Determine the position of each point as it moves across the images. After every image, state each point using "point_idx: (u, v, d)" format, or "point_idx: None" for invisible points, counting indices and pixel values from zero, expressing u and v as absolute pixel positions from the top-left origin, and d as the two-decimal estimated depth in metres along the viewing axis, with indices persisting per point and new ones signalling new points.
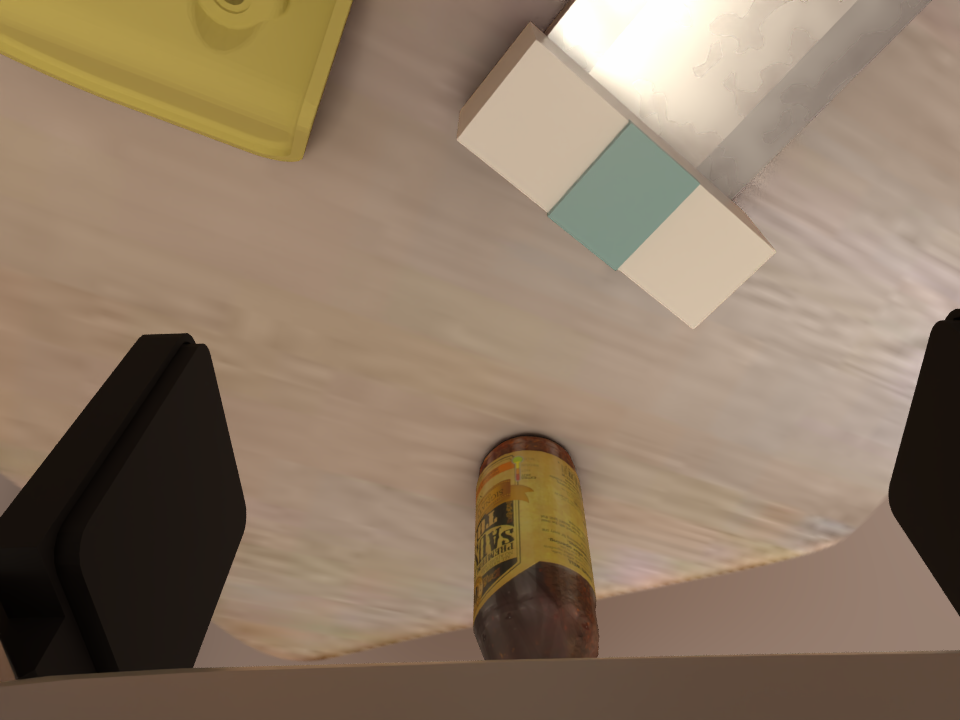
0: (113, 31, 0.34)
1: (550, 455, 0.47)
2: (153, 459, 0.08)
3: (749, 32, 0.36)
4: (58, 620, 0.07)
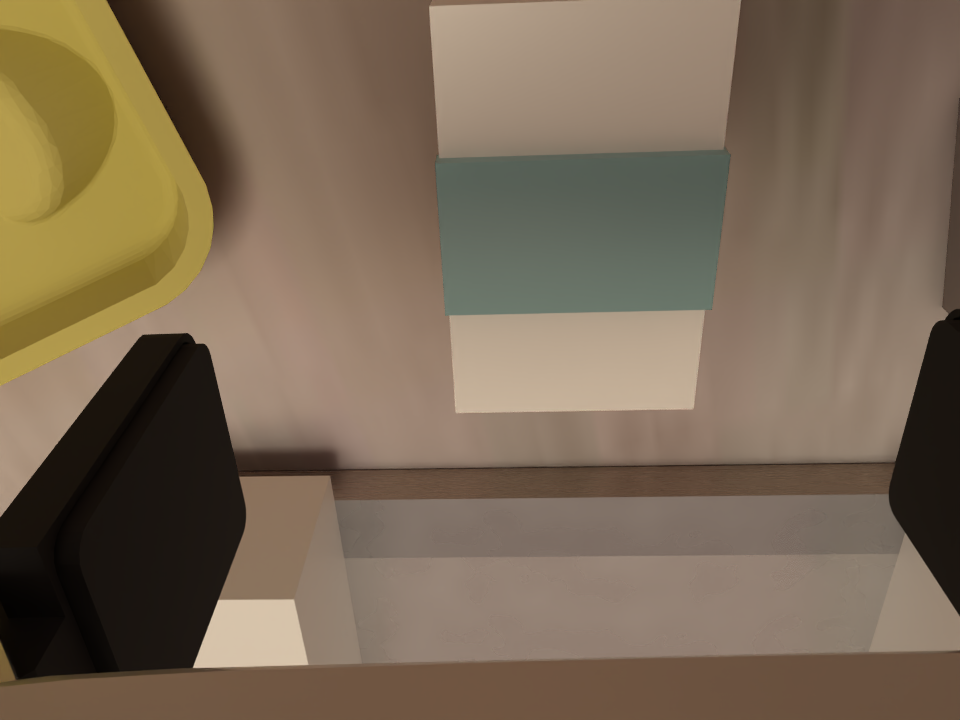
0: None
1: None
2: (153, 459, 0.08)
3: (519, 646, 0.29)
4: (58, 620, 0.07)
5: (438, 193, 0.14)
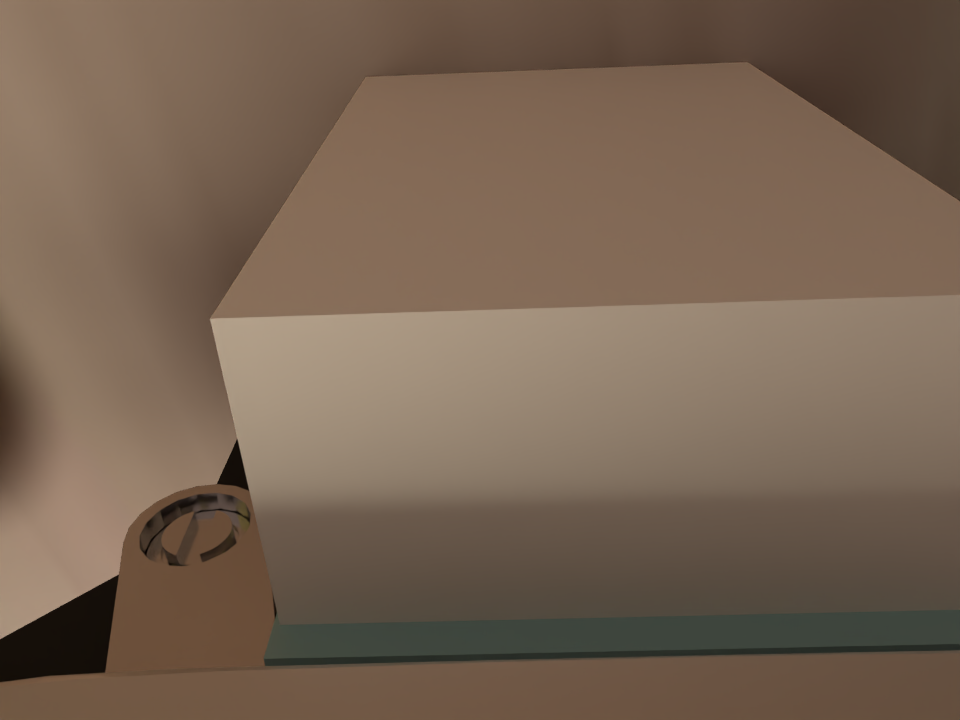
0: None
1: None
2: None
3: None
4: None
5: None
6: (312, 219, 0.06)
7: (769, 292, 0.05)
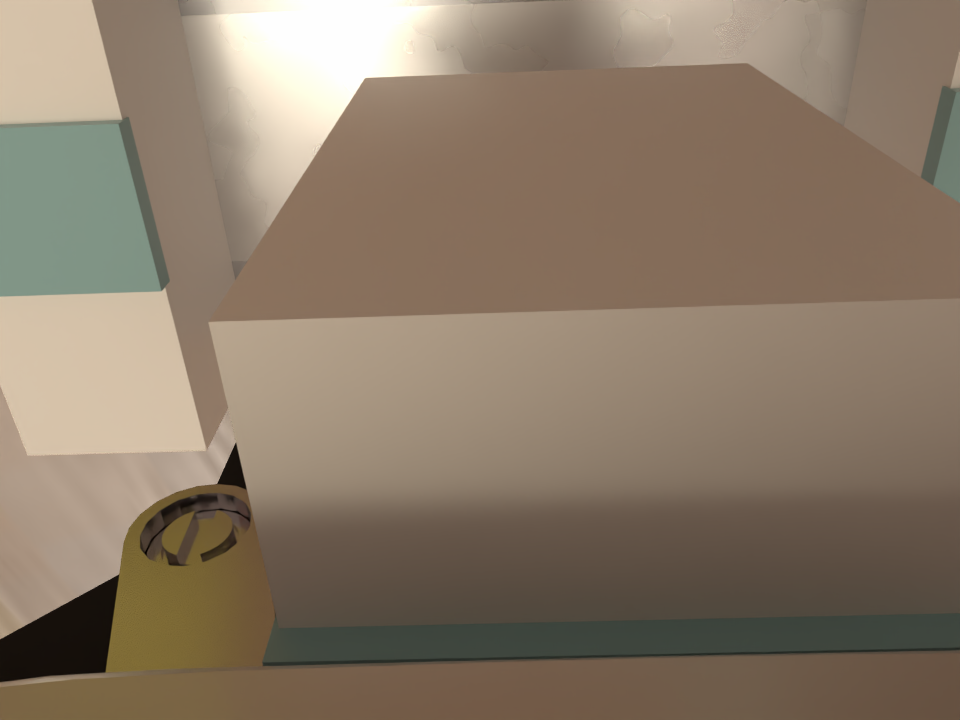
0: None
1: None
2: None
3: None
4: None
5: None
6: (312, 223, 0.06)
7: (770, 293, 0.05)
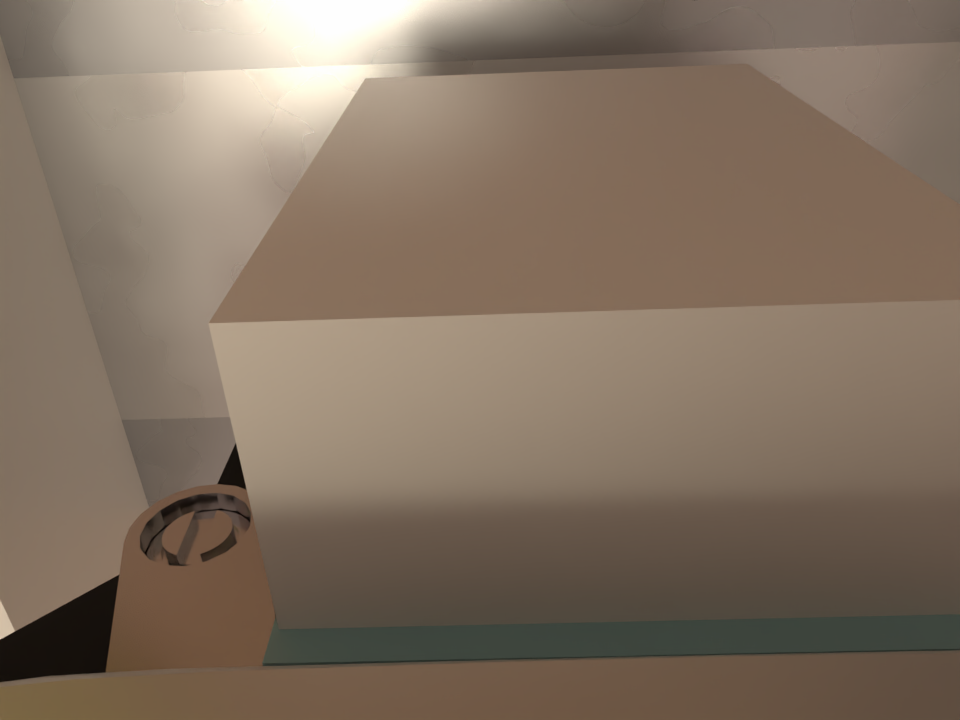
0: None
1: None
2: None
3: None
4: None
5: None
6: (312, 223, 0.06)
7: (770, 295, 0.05)
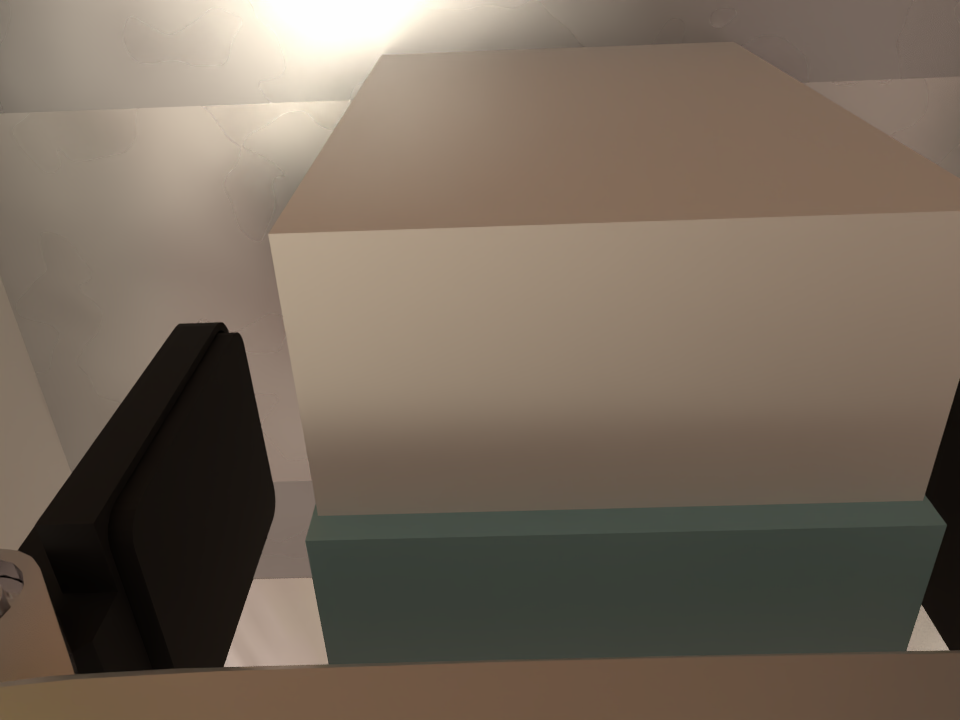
0: None
1: None
2: (195, 442, 0.09)
3: None
4: (111, 595, 0.07)
5: (317, 589, 0.07)
6: (347, 164, 0.07)
7: (739, 212, 0.06)
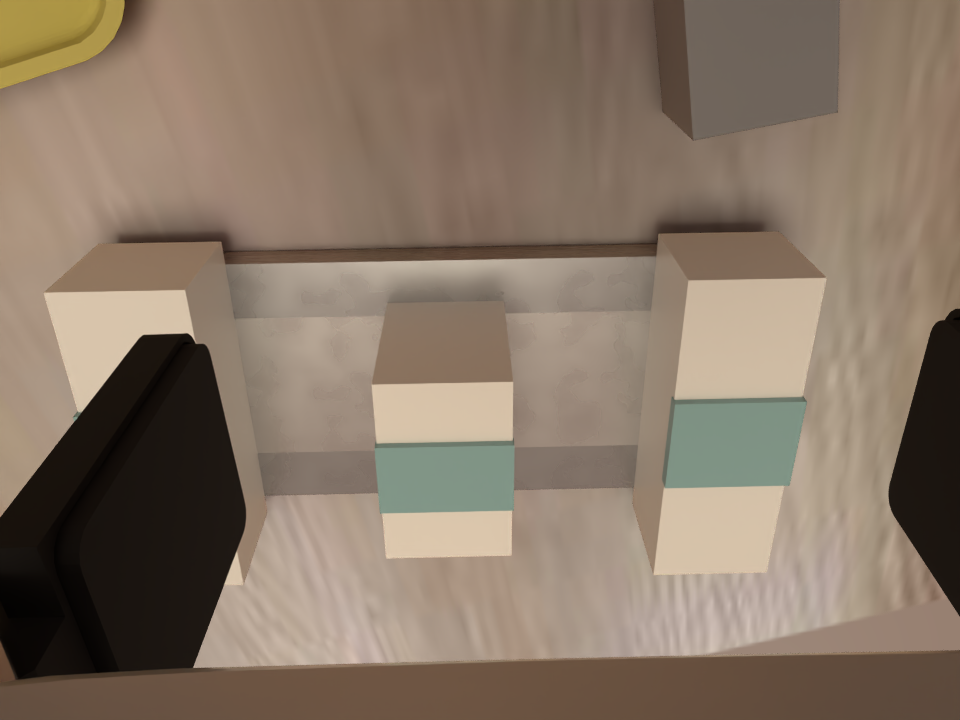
0: None
1: None
2: (153, 459, 0.08)
3: None
4: (58, 620, 0.07)
5: (376, 460, 0.30)
6: (383, 362, 0.30)
7: (463, 381, 0.29)
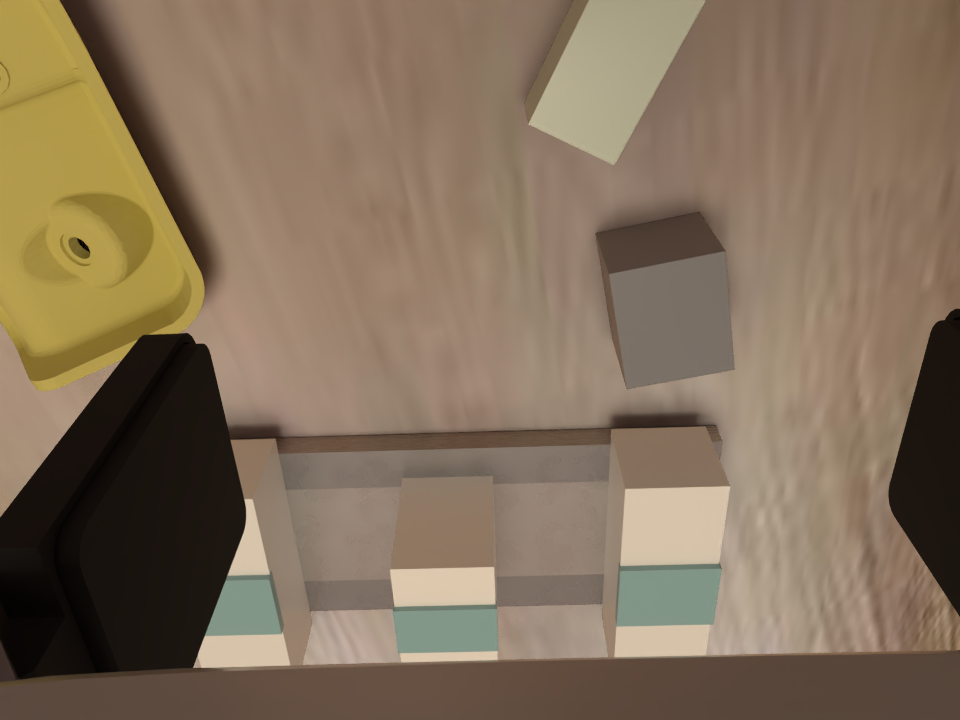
0: None
1: None
2: (153, 459, 0.08)
3: None
4: (57, 620, 0.07)
5: (394, 619, 0.40)
6: (399, 546, 0.40)
7: (457, 566, 0.39)
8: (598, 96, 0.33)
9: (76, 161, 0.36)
